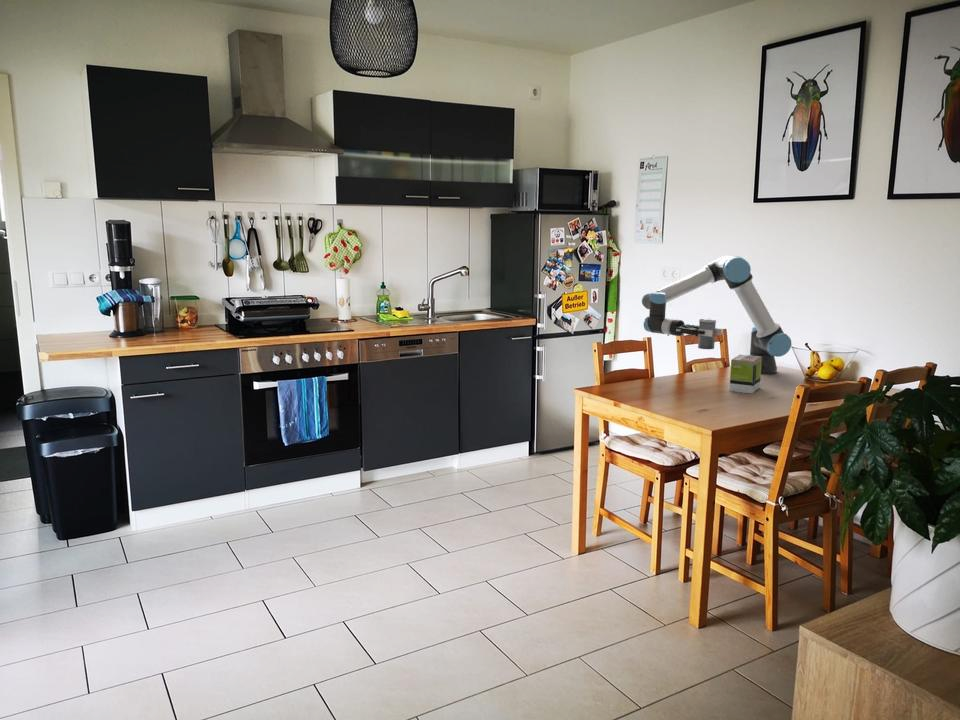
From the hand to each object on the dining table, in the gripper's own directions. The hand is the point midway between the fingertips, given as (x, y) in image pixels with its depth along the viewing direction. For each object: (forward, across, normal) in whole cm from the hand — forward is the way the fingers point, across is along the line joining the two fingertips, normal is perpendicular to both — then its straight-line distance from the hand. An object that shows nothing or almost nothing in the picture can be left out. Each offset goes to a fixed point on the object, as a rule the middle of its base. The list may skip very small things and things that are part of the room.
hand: (716, 332), depth 321 cm
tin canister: (-5, 0, -8) cm, 9 cm away
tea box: (+11, -8, -26) cm, 29 cm away
